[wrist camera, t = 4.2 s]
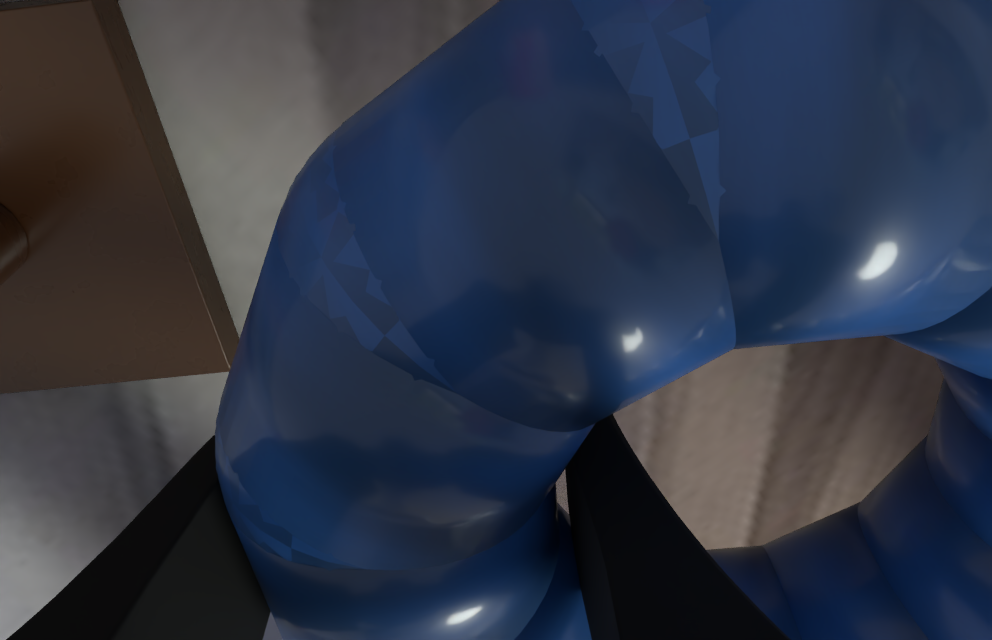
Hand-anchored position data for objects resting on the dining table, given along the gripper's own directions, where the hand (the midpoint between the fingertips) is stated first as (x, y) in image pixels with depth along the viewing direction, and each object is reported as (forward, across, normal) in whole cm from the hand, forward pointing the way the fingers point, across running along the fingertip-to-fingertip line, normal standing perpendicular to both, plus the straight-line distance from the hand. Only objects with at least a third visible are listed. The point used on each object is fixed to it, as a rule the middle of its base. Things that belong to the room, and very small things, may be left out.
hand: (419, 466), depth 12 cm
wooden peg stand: (+10, +12, -1) cm, 15 cm away
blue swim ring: (-1, -5, 0) cm, 5 cm away
